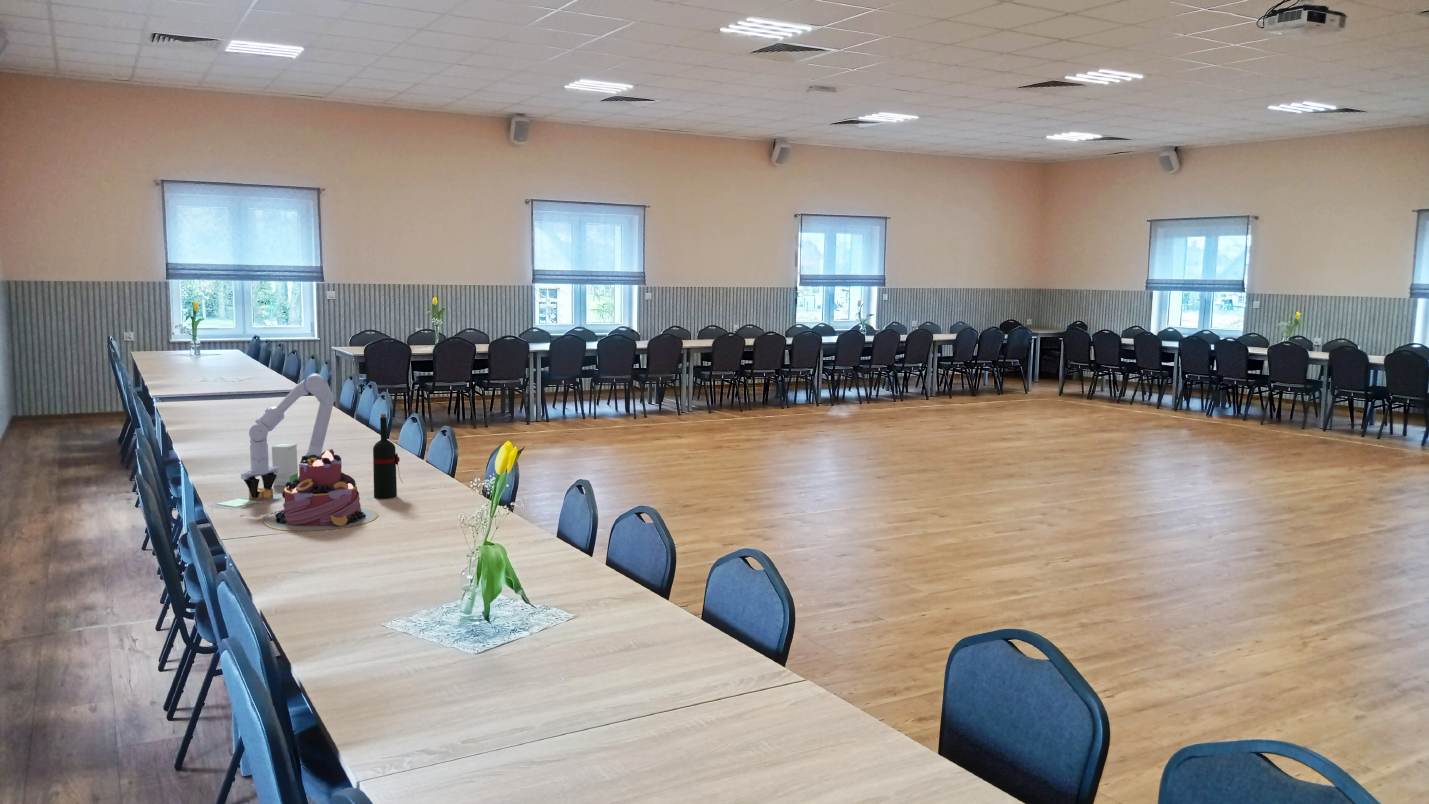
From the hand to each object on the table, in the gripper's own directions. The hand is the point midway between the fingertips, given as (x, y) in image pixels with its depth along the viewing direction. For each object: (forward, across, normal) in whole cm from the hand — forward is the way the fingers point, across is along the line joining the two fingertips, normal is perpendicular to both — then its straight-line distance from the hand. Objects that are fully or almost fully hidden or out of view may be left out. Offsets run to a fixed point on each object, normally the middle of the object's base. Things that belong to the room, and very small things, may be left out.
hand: (261, 496), depth 359 cm
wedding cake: (+2, +9, +38) cm, 39 cm away
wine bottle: (+2, -26, +34) cm, 43 cm away
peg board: (+2, +5, 0) cm, 5 cm away
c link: (+1, 0, 0) cm, 1 cm away
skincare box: (+2, -22, -12) cm, 25 cm away
